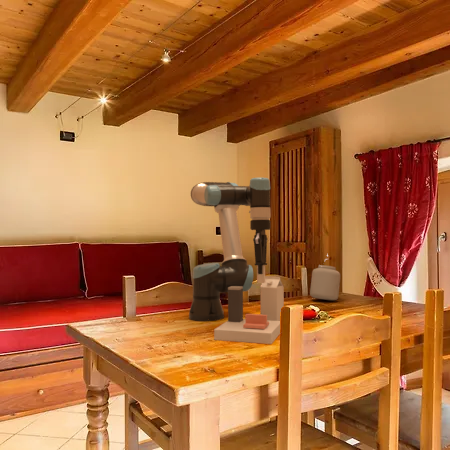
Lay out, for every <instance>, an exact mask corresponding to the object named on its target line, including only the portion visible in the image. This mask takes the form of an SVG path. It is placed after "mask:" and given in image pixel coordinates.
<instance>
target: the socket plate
mask: <svg viewBox="0 0 450 450" xmlns="http://www.w3.org/2000/svg"><path fill="white" fill-rule="evenodd" d="M267 322H269V325H268V326H267V327H266V328H265V329H256V328H243V325H244V324H245V323H246V318H243V320H242V321H241V322H228V320H226V321H225V322H223V323H222V324H220V325H219V326H217V327H216V328H214V329H213V338H214V339H213V340H214V341H223V342H238V343H251V344H253V343H254V344H264V345H265V344H267V345H272V344H273V343H274V342H275V340H276V339H277V338H278V336H280V334H281V333H280V321H270V320H267Z"/></svg>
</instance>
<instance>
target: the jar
mask: <svg viewBox="0 0 450 450" xmlns="http://www.w3.org/2000/svg"><path fill="white" fill-rule="evenodd" d="M326 256H327V257H329V255H328V254H327V255H326ZM326 260H328V258H325V261H326ZM336 268H337V267H335V266H331V265H322V264H321V265H320V264H319V265H318V267H317V268H314V269H313V270H312V271H311V280H310V282H311V283H310V290H309V291H310V292H309V295H310V296H311V297H312V298H314V299H318V300H324V301H325V300H326V301H336V300H338V299H339V293H340V286H341V285H340V283H341V273H340V272H339V271H338V270H336Z"/></svg>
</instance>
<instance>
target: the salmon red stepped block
mask: <svg viewBox="0 0 450 450" xmlns="http://www.w3.org/2000/svg"><path fill="white" fill-rule="evenodd" d="M244 319H246V323H245V324H244V325H243V328H256V329H265V328H266V327H267V326H268V325H269V322H267V315H261V313H260V314H259V313H258V314H257V313H256V314H255V313H246V314H245V317H244Z"/></svg>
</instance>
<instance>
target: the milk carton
mask: <svg viewBox="0 0 450 450" xmlns="http://www.w3.org/2000/svg"><path fill="white" fill-rule="evenodd" d="M260 284H261V285H260V289H259V290H260V315H267V320H270V321H280V312H281V308H282V307H283V306H284V307H285V305H284V304H285V303H284V302H285V301H284V300H285V299H284V297H285V293H284V290H285V289H284V283H283V282H282V280H281V276H271V275H270V276H268V275H265V283H260Z"/></svg>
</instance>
